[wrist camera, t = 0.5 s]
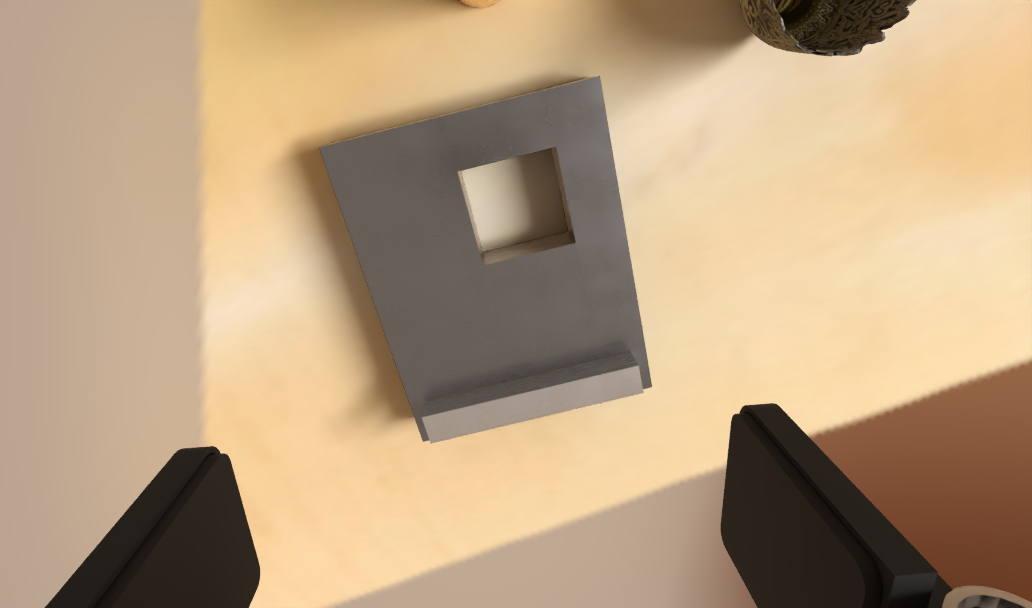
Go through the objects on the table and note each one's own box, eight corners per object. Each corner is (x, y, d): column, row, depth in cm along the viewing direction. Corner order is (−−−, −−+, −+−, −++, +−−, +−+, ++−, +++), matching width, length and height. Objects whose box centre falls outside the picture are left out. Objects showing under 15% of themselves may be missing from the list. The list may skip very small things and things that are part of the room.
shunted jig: (589, 77, 34) (607, 74, 29) (640, 366, 41) (661, 402, 36) (331, 142, 34) (308, 150, 29) (426, 417, 41) (420, 459, 36)
